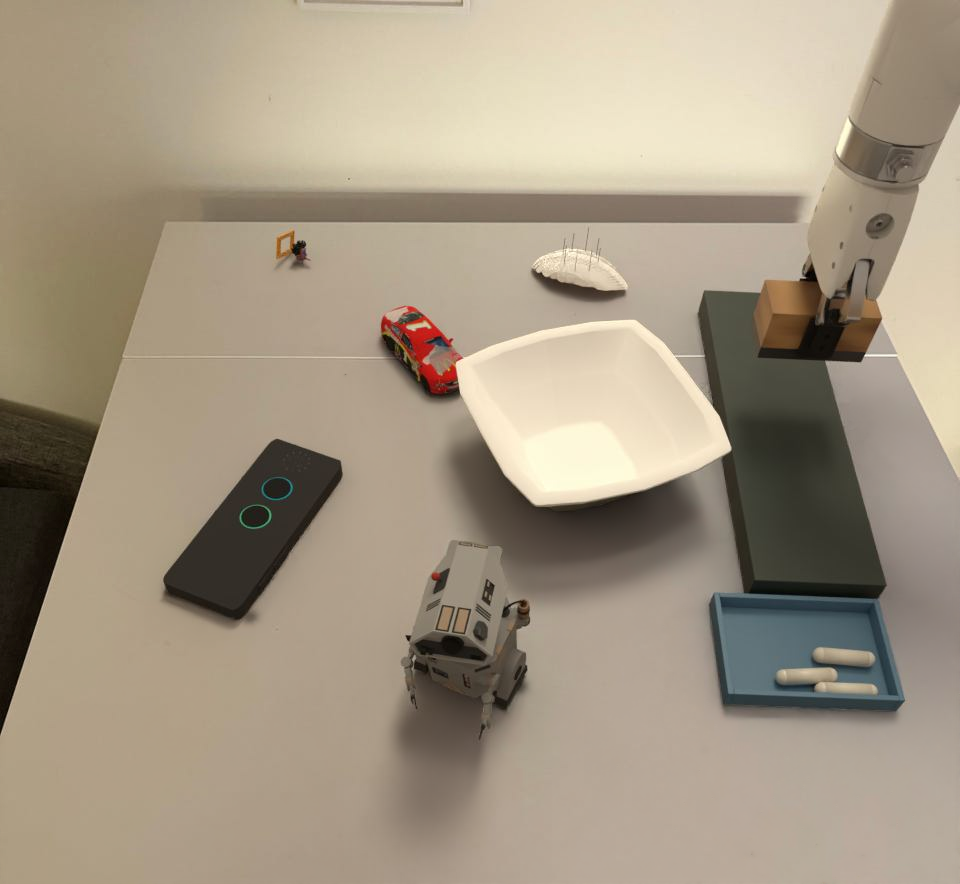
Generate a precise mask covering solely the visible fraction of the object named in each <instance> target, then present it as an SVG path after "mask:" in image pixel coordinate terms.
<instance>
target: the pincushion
mask: <svg viewBox="0 0 960 884" xmlns="http://www.w3.org/2000/svg"><path fill="white" fill-rule="evenodd" d="M589 230H590V227H588V229H587V232H589ZM572 235H573V237H572V240H574V239H575V234H572ZM588 236H589V233H587V236H586V239H589V238H588ZM585 242H586V243H585V246H588V245H587V244H588V241H585ZM565 243H566V239H564V241H563V246H565V248H562V249H559V250H555V251H552V252H548V253H547V254H544V255H542V256H540V257H539V258H537V260H535V262H534V263H533V264H532V266H531V269H533V270H535V272H536V273H538V274H540V273H542V275H543V276H544V277H545V278H550V279H552V280H557V281H558V282H560V283H561V284H563V283H566V284H572V286H574V285H576V286H579V287H583V288H595V290H598V291H603V292H606V291H623V290H624V291H627V290H628V287H629V285H628V284H627V282H626V281H625V279H624V278H623V277H622V274H621V273H620V271H618V269H617V268H616V267H615V266H614V264H613V263H611V262H609V261H608V260H607V259H606V258H604V257H602V256H601V251H599V254H598V252H596V253H595V252H593V251H589V250H587V248H585V249H580V248H573V247H574V242H572V243H571V248H567V245H566V244H565ZM599 243H600V239H598V241H597V244H599ZM598 247H599V245H597V246H596V251H598V249H599V250H601V247H599V248H598Z"/></svg>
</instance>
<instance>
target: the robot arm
mask: <svg viewBox="0 0 960 884" xmlns="http://www.w3.org/2000/svg"><path fill="white" fill-rule="evenodd" d="M959 107H960V0H888V2H887V5H886V8H885V10H884V13H883V16H882V18H881V21H880V24H879V26H878V29H877V32H876V35H875V37H874V40H873V43H872V46H871V49H870V51H869V53H868V57H867V59H866V61H865V65H864V67H863V70H862V73H861V75H860V78H859V81H858V83H857V85H856V89H855V92H854V94H853V98H852V99H851V103H850V106H849V108H848V111H847V113H846V116H845V119H844V122H843V125H842V127H841V130H840V132H839V136H838V138H837V141H836V143H835V146H834V149H833V152H832V159H833V165H832V167H831V169H830V171H829V173H828V176H827V178H826V180H825V183H824V185H823V188H822V190H821V192H820V195H819V197H818V199H817V203H816V205H815V208H814V211H813V213H812V216H811V219H810V222H809V226H808V230H807V234H806V235H807V236H806V237H807V239H806V240H807V247H808V251H809V254H808V255H807V258H806V260H805V262H804V264H803V265H802V269H801V277H800V278H799V280H798V281H807V282H819V286H820V288H821V291H822V292H823V293H822V297H821V300H820V304H819V307H818V311H817V314H816V318H811V319H810V321H809V324H808V326H807V328H806V331H805V333H804V336H803V338H802V341H801V343H800V346H799V348H798V351H797V352H798V356H799V357H801V358H821V359H829V358H831V357H832V355H833V353H834V351H835V349H836V346H837V344H838V342H839V340H840V337H841V335H842V333H843V331H844V329H845V327H848V325H849V324H851V323H859V321H860V319H861V315H862V309H863V303H864V297H865V296H866V299H867V300H870V301H875V300H876V301H877V299H878V298H879V297H880V295H881V293H882V291H883V290H884V287H885V286H886V283H887V280H888V278H889V276H890V274H891V272H892V269H893V266H894V264H895V262H896V259H897V257H898V255H899V252H900V249H901V247H902V245H903V242H904V240H905V235H906V234H907V232H908V228H909V225H910V222H911V220H912V216H913V213H914V210H915V206H916V203H917V199H918V195H919V192H920V185H919V184H921V183H923V182H924V181H925V180H926V178H927V176H928V174H929V172H930V171H931V168H932V166H933V163H934V161H935V159H936V157H937V154H938V153H939V150H940V148H941V146H942V144H943V142H944V139H945V137H946V135H947V133H948V132H949V129H950V127H951V125H952V123H953V121H954V118H955V116H956V114H957V112H958V110H959ZM844 284H847V288H841V287H842V286H843V285H844ZM832 299H845V300H844V304H843V306H842V308H833V309H831V310H829V307H830V303H831V300H832Z"/></svg>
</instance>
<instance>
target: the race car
mask: <svg viewBox="0 0 960 884" xmlns="http://www.w3.org/2000/svg"><path fill="white" fill-rule="evenodd" d="M380 334H381V335H380V336H381V338H382V341H383V342H384V343H385V346H386V348H387V350H388V351H389V352H390V353H393V354H394V355H395V356H396V357H397V359H398V360H399V361H400V362H401V363H402V364H403V366H405V368H406V369H407V370H408V371H409V372H410V373H411V374H412V376H413V377H414V378H415V379H416V380H417V381H418V382H419V383H420V384H421V387H422V388H423V390H424V391H425V392H426V393H432V394H442V395H443V394H449V393H453V392H456V391H460V388H459V382H458V376H457V370H456V362H457V361H459V360H461V359H464V357H463V356H462V355H461V354H460V353H459V352H458V351H457V349H456V348H455V347H454V346H453V345H452V342H453V341H454V337H451V338H449V339H448V338H447V336H446V335H445V334H444V333H443V332H442V331H441V330H440V329H439V327H437V326H436V325H435V324H434V323H433V321H432V320H431V319H430V318H429V317H427V316H426V315H425V314H424V313H422V312H421V311H420V310H419V309H417V308H416V307H415V306H411V305H403V306H399V307H396V308H394V309H391V310H389V311H387V312H386V313H384V315H382V318H381V322H380Z"/></svg>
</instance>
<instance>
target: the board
mask: <svg viewBox="0 0 960 884" xmlns="http://www.w3.org/2000/svg"><path fill="white" fill-rule="evenodd" d="M760 293H761V292H756V291H755V292H754V291H753V292H752V291H751V292H750V291H730V290H711V289H708V290H706V289H705V290H703V293H702V296H701V299H700V303H699V307H698V310H699V314H698V319H699V318H700V320H699V325H700V324H701V326H700V331H701V330H702V332H701V338H702V337H703V338H702V343H703V342H704V344H703V349H704V348H705V350H704V356H705V362H706V367H707V373H708V379H709V386H710V392H711V398H712V404H713V405H712V406H713V408H714V409H715V411H716V412H717V414H718V415H719V416H720V419H721V422H722V424H723V427H724V430H725V432H726V435H727V437H728V440H729V443H730V445H731V451H730V452H729V453H728V454H726V455H725V456H723V457H721V459H722V465H723V471H724V476H725V477H724V478H725V482H726V489H727V494H728V501H729V506H730V513H731V518H732V525H733V531H734V536H735V542H736V548H737V555H738V561H739V567H740V572H741V578H742V586H743V591H744V594H767V595H792V596H816V597H841V598H865V599H878V600H879V598H880V596H881V595H882V594H883V592H884V590H886V587H887V586H888V585H887V581H886V578H885V574H884V570H883V567H882V563H881V559H880V556H879V552H878V548H877V545H876V541H875V537H874V533H873V529H872V526H871V522H870V518H869V515H868V512H867V509H866V505H865V501H864V497H863V495H862V490H861V486H860V483H859V480H858V475H857V472H856V468H855V464H854V461H853V458H852V457H853V456H852V454H851V450H850V445H849V441H848V439H847V435H846V432H845V427H844V425H843V421H842V417H841V413H840V409H839V406H838V403H837V399H836V396H835V392H834V388H833V385H832V382H831V377H830V374H829V370H828V367H827V363H826V361H818V360H796V359H774V358H757V355H756V350H755V345H754V340H753V336H752V331H751V326H750V323H751V320H752V317H753V314H754V311H755V308H756V305H757V302H758V299H759V296H760Z"/></svg>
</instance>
